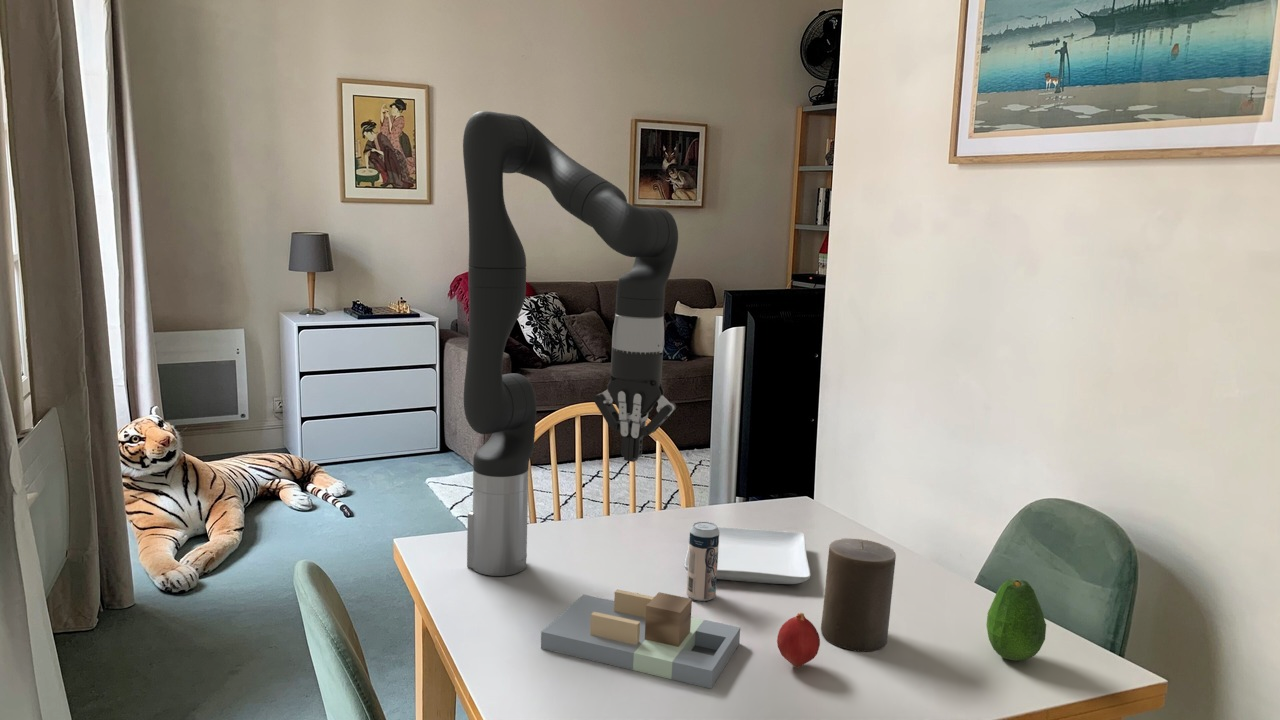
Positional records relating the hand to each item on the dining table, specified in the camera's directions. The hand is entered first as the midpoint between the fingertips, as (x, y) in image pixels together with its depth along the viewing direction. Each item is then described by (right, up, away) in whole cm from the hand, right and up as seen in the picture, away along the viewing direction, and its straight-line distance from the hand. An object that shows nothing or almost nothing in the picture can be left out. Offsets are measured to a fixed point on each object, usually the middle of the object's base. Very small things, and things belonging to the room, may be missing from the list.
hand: (631, 460), depth 137 cm
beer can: (+11, -24, +12) cm, 29 cm away
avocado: (+55, -28, -5) cm, 62 cm away
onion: (+23, -28, -10) cm, 37 cm away
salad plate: (+20, -22, +26) cm, 40 cm away
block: (+5, -24, -8) cm, 26 cm away
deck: (+2, -26, -6) cm, 27 cm away
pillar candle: (+33, -27, 0) cm, 43 cm away
